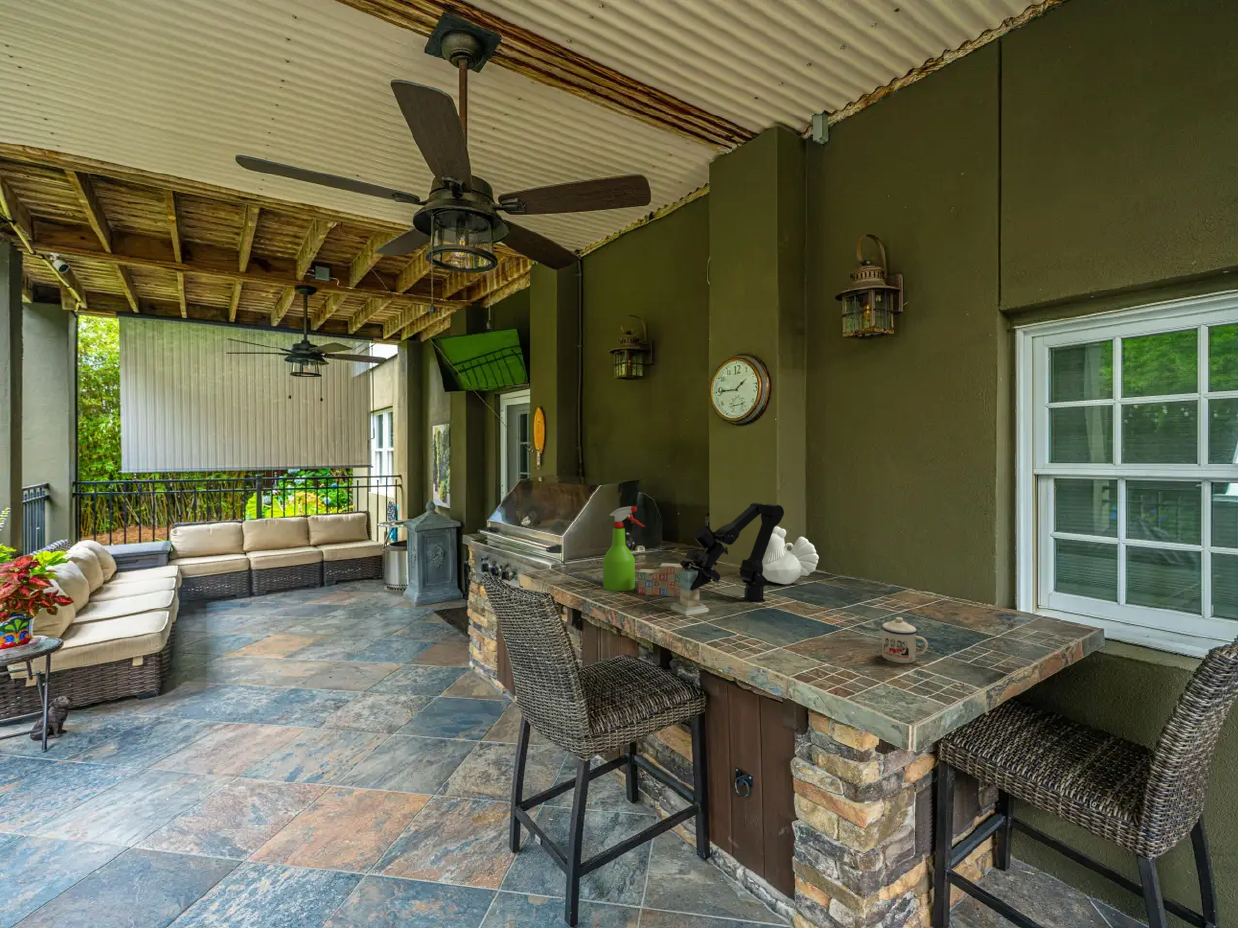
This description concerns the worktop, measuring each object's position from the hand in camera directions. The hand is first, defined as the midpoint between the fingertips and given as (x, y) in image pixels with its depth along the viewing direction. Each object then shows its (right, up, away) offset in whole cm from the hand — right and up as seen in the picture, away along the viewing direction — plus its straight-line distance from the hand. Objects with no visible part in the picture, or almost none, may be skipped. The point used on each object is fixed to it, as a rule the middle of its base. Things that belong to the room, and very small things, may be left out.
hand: (686, 588), depth 221 cm
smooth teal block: (+1, -7, +1) cm, 7 cm away
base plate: (+1, -8, +1) cm, 8 cm away
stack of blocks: (-6, -8, +25) cm, 27 cm away
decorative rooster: (+49, -7, +42) cm, 65 cm away
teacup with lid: (+56, -10, -50) cm, 76 cm away
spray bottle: (-23, -7, +36) cm, 43 cm away
